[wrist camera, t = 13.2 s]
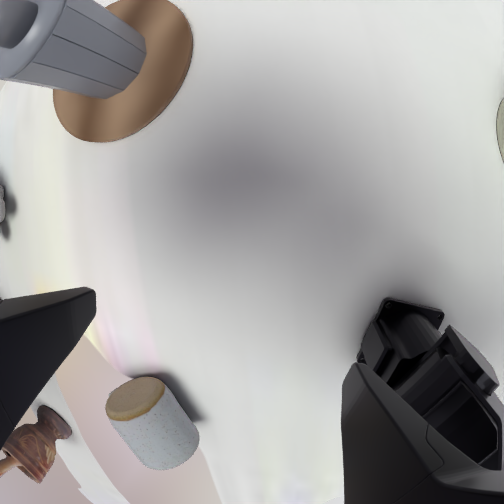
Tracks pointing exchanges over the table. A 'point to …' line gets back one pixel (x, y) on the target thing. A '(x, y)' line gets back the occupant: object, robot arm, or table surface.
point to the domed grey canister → (68, 47)
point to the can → (501, 128)
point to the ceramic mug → (152, 423)
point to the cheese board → (144, 85)
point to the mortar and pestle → (34, 445)
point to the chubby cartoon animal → (2, 204)
